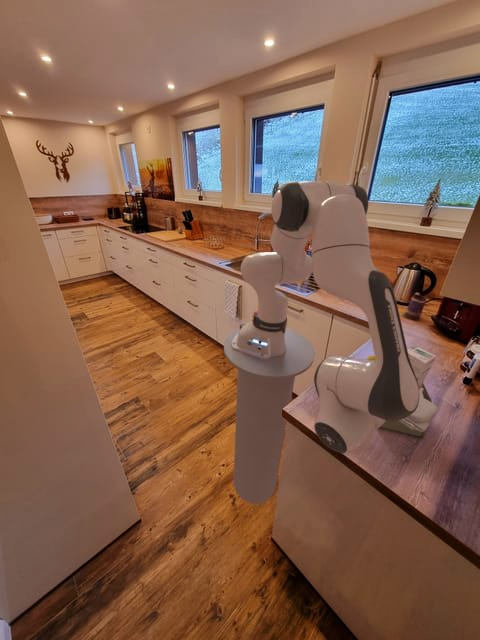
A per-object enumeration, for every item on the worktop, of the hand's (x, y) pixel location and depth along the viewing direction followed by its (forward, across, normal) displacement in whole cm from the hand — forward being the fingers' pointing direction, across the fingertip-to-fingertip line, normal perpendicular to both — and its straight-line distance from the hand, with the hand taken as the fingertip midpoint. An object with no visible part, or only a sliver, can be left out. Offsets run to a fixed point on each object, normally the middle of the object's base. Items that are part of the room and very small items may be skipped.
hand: (399, 378), depth 66 cm
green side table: (+9, 0, +19) cm, 21 cm away
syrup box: (+9, 0, +10) cm, 13 cm away
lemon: (+22, +14, +19) cm, 32 cm away
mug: (+86, +26, +19) cm, 92 cm away
